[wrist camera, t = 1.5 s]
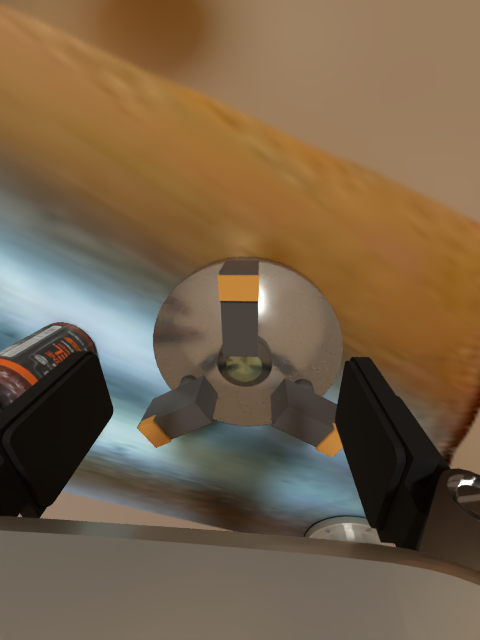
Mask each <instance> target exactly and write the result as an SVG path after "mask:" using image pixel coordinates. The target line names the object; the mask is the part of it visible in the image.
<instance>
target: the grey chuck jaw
mask: <svg viewBox="0 0 480 640" xmlns="http://www.w3.org/2000/svg"><path fill="white" fill-rule="evenodd" d="M270 397H271V418H272V426H273V427H275V428H277V429H280V430H282V431H284V432H286V433H288V434H290V435H292V436H294V437H296V438H298V439H300V440H302V441H304V442H306V443H308V444H311V445H313V446H315V447H316V450H318V451H320V452H322V453H324V454H326V455H328V456H330V457H333V456H335V455H336V454H337V453H338V452H339V451H340V450H341V449H342V448H343V446H342V443H341V440H340V437H339V434H338V431H337V428H336V424H335V415H336V409H337V404H335V403H333V402H331V401H329V400H327V399H325V398H323V397H321V396H319V395H317V394H315V392H314V388H313V385H312V383H311V382H310V381H309V380H307V379H299V380H296V381H295V382H292V381H290V380H288V379H287V378H284V380H283V381H282V382H281V383H280V385H279V386H278V387H277V388H276V390H275V391H274V392H273V393H272V395H271V396H270Z"/></svg>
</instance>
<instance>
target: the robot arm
mask: <svg viewBox="0 0 480 640" xmlns="http://www.w3.org/2000/svg"><path fill="white" fill-rule="evenodd" d="M112 415H113V405H112V402H111V399H110V395H109V392H108V389H107V385H106V382H105V379H104V375H103V372H102V369H101V365H100V362H99V359H98V357H97V356H96V355H94V353H93V352H91V351H74V352H72V353H71V354H70V355H69V356H68V357H66V358H65V359H64V360H63V361H62V362H60V363H59V364H58V365H57V366H55V367H54V368H53V369H52V370H51V371H49V372H48V373H47V374H46V375H45V376H43V377H42V378H41V379H40V380H39V381H37V382H36V383H35V384H34V385H32V386H31V387H30V388H29V389H28V390H26V391H25V392H24V393H23V394H22V395H20V396H19V397H18V398H17V399H16V400H14V401H13V402H12V403H11V404H9V405H8V406H7V407H6V408H5V409H3V410H2V411H1V412H0V640H480V475H478V474H476V473H473V472H471V471H468V470H463V469H450V467H449V466H448V465H447V463H446V462H445V460H444V459H443V457H442V456H441V455H440V453H439V452H438V450H437V449H436V447H435V446H434V445H433V443H432V442H431V440H430V439H429V438H428V436H427V435H426V433H425V432H424V430H423V429H422V428H421V426H420V425H419V423H418V422H417V420H416V419H415V418H414V416H413V415H412V413H411V412H410V411H409V409H408V408H407V406H406V405H405V403H404V402H403V401H402V399H401V398H400V397H398V396H396V395H395V393H394V392H393V390H392V389H391V388H390V386H389V385H388V383H387V382H386V380H385V379H384V377H383V376H382V374H381V373H380V372H379V370H378V369H377V367H376V366H375V364H374V363H373V361H372V360H371V359H370V358H369V357H352V358H351V359H350V361H346V362H345V366H344V371H343V377H342V382H341V387H340V393H339V398H338V404H337V409H336V415H335V424H336V428H337V431H338V434H339V437H340V440H341V443H342V446H343V449H344V452H345V455H346V458H347V461H348V464H349V467H350V470H351V473H352V476H353V479H354V482H355V485H356V488H357V491H358V494H359V497H360V500H361V503H362V506H363V509H364V512H365V515H366V518H367V519H365V518H361V517H353V516H343V517H335V518H330V519H326V520H323V521H321V522H319V523H317V524H315V525H314V526H312V527H311V528H310V529H309V530H308V532H307V533H306V535H305V537H295V536H282V535H268V534H255V533H242V532H229V531H216V530H202V529H189V528H175V527H161V526H146V525H131V524H117V523H103V522H88V521H72V520H57V519H42V518H40V517H41V515H42V514H43V512H44V511H45V509H46V508H47V507H48V506H50V505H51V504H53V502H54V501H55V500H56V498H57V497H58V495H59V494H60V493H61V491H62V490H63V488H64V487H65V485H66V484H67V482H68V481H69V479H70V478H71V476H72V475H73V473H74V472H75V470H76V469H77V467H78V466H79V464H80V463H81V462H82V460H83V459H84V457H85V456H86V454H87V453H88V451H89V450H90V448H91V447H92V445H93V444H94V442H95V441H96V439H97V438H98V436H99V435H100V433H101V432H102V430H103V429H104V428H105V426H106V425H107V423H108V422H109V420H110V419H111V417H112ZM19 513H20V514H21V515H22V517H17V516H18V515H19ZM394 544H395V545H396V547H394Z"/></svg>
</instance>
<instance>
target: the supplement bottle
mask: <svg viewBox="0 0 480 640" xmlns="http://www.w3.org/2000/svg"><path fill="white" fill-rule="evenodd" d="M74 351H91V352H93V353H94V355H95V349H94V345H93V343H92V341H91V339H90V338H89V336H88V335H87V334H86V333H85V332H84V331H82V330H81V329H80V328H78V327H77V326H75V325H72V324H69V323H63V322H57V323H53V324H50V325H48V326H46V327H44V328H42V329H40V330H39V331H37V332H35V333H33V334H31V335H30V336H28V337H26V338H24V339H22V340H20V341H19V342H17V343H15V344H13V345H12V346H10V347H8V348H6V349H4V350H3V351H1V352H0V412H1V411H2V410H3V409H5V408H6V407H7V406H8V405H9V404H11V403H12V402H13V401H14V400H16V399H17V398H18V397H19V396H20V395H22V394H23V393H24V392H25V391H26V390H28V389H29V388H30V387H31V386H32V385H34V384H35V383H36V382H37V381H39V380H40V379H41V378H42V377H43V376H45V375H46V374H47V373H48V372H49V371H51V370H52V369H53V368H54V367H55V366H57V365H58V364H59V363H60V362H62V361H63V360H64V359H65V358H66V357H68V356H69V355H70V354H71V353H72V352H74Z"/></svg>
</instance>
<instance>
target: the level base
mask: <svg viewBox="0 0 480 640" xmlns="http://www.w3.org/2000/svg"><path fill="white" fill-rule="evenodd" d="M226 260H259V301H258V354H257V357H234V356H223V343H222V323H221V304H220V301H219V290H218V275H219V271H220V269H221V268H222V266H223V264H224V263H225V261H226ZM153 348H154V355H155V359H156V362H157V366H158V368H159V370H160V373H161V375H162V377H163V378H164V380H165V382H166V383H167V385H168V386H169V387H170V389H171V390H174V389H176V388H178V385H179V383H180V381H181V379H182V378H183V377H184V376H187V375H192V376H194V377H196V378H199V377H201V376H203V375H204V376H205V377H206V379H207V380H208V381H209V383H210V384H211V385H212V387H213V388H214V389H215V390H216V392H217V393H218V397H217V402H216V406H215V411H214V415H213V419H215V420H218V421H221V422H225V423H229V424H235V425H245V426H258V425H267V424H272V418H271V397H270V396H271V395H272V393H273V392H274V391H275V390H276V388H277V387H278V386H279V385H280V383H281V382H282V381H283V380H284V378H287V379H288V380H290V381H292V382H295V381H296V380H299V379H307V380H309V381H310V382H311V383H312V385H313V388H314V392H315V394H317V395H319V396H321V397H322V396H323V395H324V394H325V393H326V392H327V390H328V389H329V388H330V386H331V385H332V383H333V381H334V379H335V377H336V376H337V373H338V370H339V367H340V364H341V359H342V350H343V342H342V333H341V329H340V326H339V322H338V319H337V317H336V315H335V313H334V311H333V309H332V307H331V306H330V304H329V303H328V301H327V300H326V298H325V297H324V295H323V294H322V292H321V291H320V290H319V289H318V288H317V287H316V286H315V285H314V283H313V282H311V281H310V280H309V279H308V278H307V277H305V276H304V275H303V274H301V273H300V272H298V271H296V270H295V269H293V268H291V267H289V266H287V265H284V264H282V263H280V262H276V261H273V260H269V259H264V258H258V257H235V258H227V259H223V260H219V261H216V262H213V263H211V264H208V265H206V266H204V267H202V268H200V269H198V270H197V271H195V272H193V273H192V274H191V275H189V276H188V277H187V278H186V279H184V280H183V281H182V282H181V283H180V284H179V285H178V286H177V287H176V288H175V289H174V291H173V292H172V293H171V294H170V295H169V296H168V298H167V299H166V301H165V302H164V303H163V305H162V307H161V309H160V311H159V313H158V316H157V319H156V323H155V327H154V333H153Z"/></svg>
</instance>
